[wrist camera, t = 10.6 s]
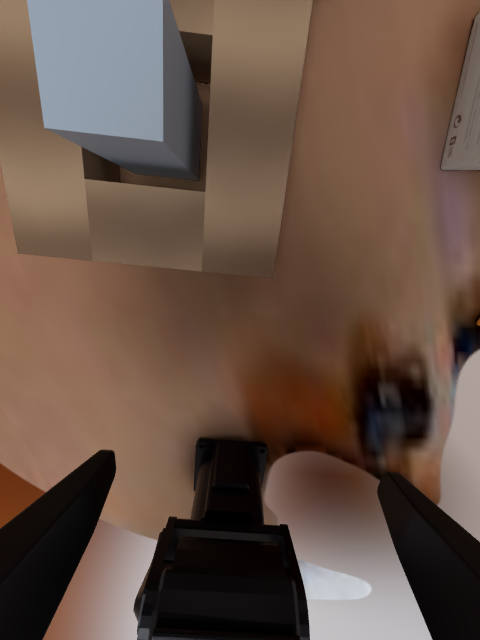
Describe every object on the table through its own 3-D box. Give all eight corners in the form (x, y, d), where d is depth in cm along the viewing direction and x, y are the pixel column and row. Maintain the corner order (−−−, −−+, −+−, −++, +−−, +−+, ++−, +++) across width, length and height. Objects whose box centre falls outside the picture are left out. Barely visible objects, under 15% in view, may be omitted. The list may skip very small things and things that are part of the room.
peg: (202, 104, 15) (162, -21, 7) (199, 180, 16) (163, 141, 9) (132, 95, 15) (21, -40, 7) (135, 173, 16) (44, 128, 9)
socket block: (266, 267, 18) (272, 278, 14) (65, 247, 18) (18, 253, 14) (301, -2, 13) (326, -92, 10) (27, -39, 13) (-61, -148, 9)
